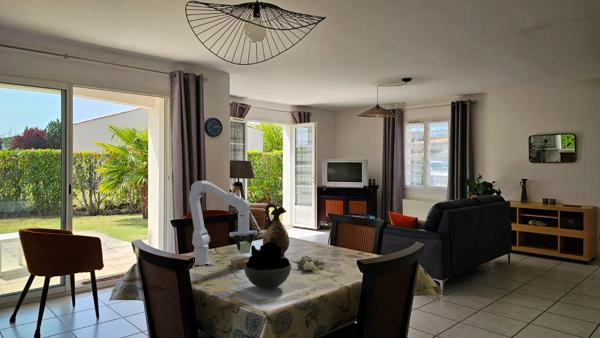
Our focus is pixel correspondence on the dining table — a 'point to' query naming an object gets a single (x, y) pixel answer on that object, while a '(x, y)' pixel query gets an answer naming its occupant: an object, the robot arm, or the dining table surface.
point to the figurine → (310, 263)
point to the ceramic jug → (276, 229)
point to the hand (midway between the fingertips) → (243, 249)
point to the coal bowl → (267, 266)
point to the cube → (244, 247)
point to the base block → (239, 262)
